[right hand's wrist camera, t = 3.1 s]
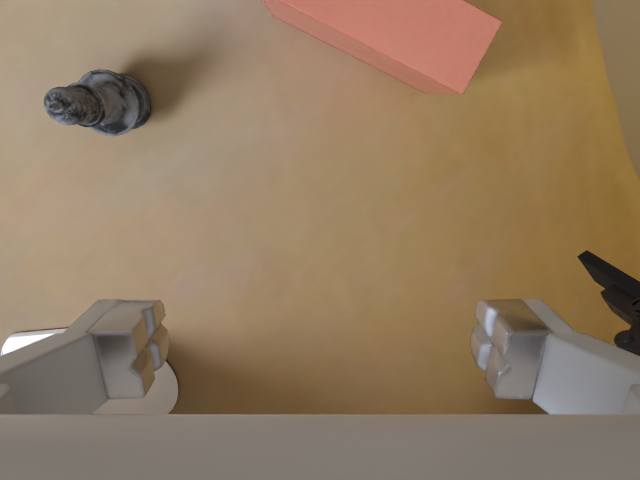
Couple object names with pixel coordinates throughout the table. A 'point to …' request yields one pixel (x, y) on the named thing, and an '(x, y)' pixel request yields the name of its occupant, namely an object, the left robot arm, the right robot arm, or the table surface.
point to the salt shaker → (100, 103)
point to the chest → (353, 48)
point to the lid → (413, 33)
